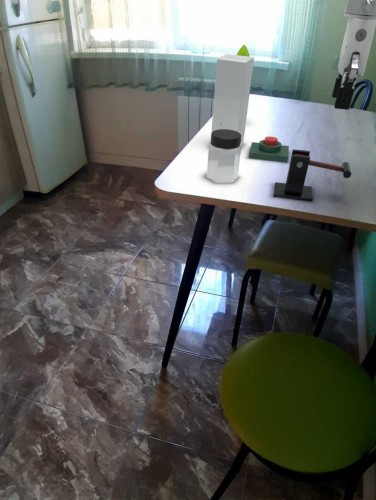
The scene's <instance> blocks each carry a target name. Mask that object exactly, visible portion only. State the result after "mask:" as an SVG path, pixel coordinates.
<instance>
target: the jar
mask: <svg viewBox="0 0 376 500" xmlns="http://www.w3.org/2000/svg"><path fill="white" fill-rule="evenodd" d="M211 132H212V131H211ZM242 146H243V145H241V134H240V133H239V132H237V131H234V130H228V129H219V130H215V131H213V132H212V133H210V143H209V144H208V153H207V165H206V166H207V167H206V178H208V179H209V180H210V181H212V182H213V183H215V184H232V183H234V182H235V181H236V180H237V179H238V178H239V169H240V161H241V153H242Z"/></svg>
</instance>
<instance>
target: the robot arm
mask: <svg viewBox="0 0 376 500" xmlns="http://www.w3.org/2000/svg"><path fill="white" fill-rule="evenodd" d="M343 12H344V13H343V17H346V18H348V20H347V24H346V28H345V32H344V37H343V41H342V45H341V49H340V53H339V58H338V64H337V69H338V72H337V77H336V78H335V82H334V86H333V90H332V94H331V97H332V98H334V99H335V101H334V105H333V106H334V107H333V108H334V109H336V110H346V111H348V110H350V107H351V104H352V100H353V97H354V93H355V87H356V82H357V77H359V78H362V77H363V76H364V75H365V71H366V68H367V63H368V59H369V56H370V52H371V48H372V44H373V39H374V35H375V30H376V0H346V4H345V8H344V11H343Z"/></svg>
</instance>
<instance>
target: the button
mask: <svg viewBox="0 0 376 500" xmlns="http://www.w3.org/2000/svg"><path fill="white" fill-rule="evenodd" d="M264 140H265V141H264V144H265V145H269V146H276V145H277V141H279V138H278V137H276V136H265V137H264Z"/></svg>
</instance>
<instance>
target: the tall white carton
mask: <svg viewBox="0 0 376 500" xmlns="http://www.w3.org/2000/svg"><path fill="white" fill-rule="evenodd" d="M254 61H255V57H254V56H250V57H248V56H240V55H237V54H231V53H225V54H224V55H222V56H221V55H220V57H218V58H216V70H215V80H214V81H215V83H214V94H213V106H212V119H211V133H212V132H213V131H215V130H219V129H228V130H234V131H237V132H239V133H240V134H241V145H242V146H243V145H244V141H245V133H246V125H247V117H248V110H249V101H250V93H251V85H252V79H253V77H252V72H253V68H254ZM211 133H210V134H211Z"/></svg>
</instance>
